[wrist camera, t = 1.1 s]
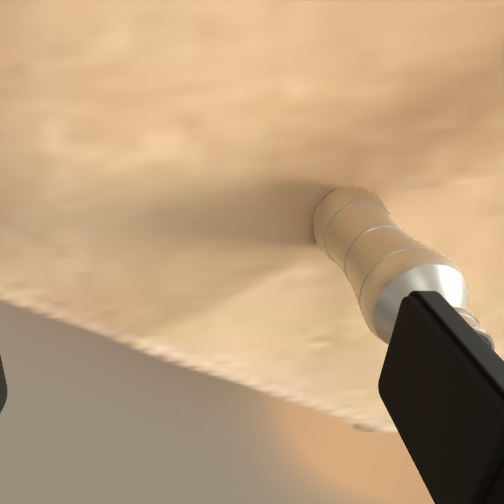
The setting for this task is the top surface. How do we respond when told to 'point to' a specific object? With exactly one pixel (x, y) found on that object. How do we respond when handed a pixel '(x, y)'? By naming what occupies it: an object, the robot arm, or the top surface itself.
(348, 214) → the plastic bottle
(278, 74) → the top surface
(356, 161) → the top surface
